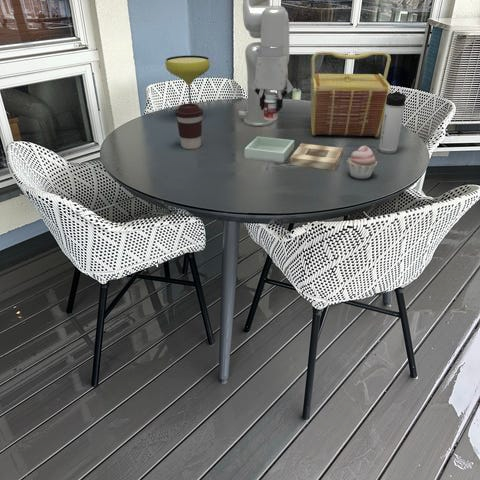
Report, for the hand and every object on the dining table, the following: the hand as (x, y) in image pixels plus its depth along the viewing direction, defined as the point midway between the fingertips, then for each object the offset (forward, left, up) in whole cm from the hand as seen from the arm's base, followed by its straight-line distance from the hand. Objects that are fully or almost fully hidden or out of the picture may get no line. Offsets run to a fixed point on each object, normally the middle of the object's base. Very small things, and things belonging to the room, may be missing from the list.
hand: (270, 109), depth 152 cm
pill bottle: (0, 0, -3) cm, 3 cm away
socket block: (+17, 0, -16) cm, 23 cm away
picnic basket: (+20, +35, -16) cm, 43 cm away
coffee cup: (-30, -2, -16) cm, 34 cm away
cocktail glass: (-45, +29, -16) cm, 56 cm away
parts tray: (0, 0, -16) cm, 16 cm away
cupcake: (+33, -9, -16) cm, 38 cm away
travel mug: (+39, +17, -16) cm, 45 cm away
